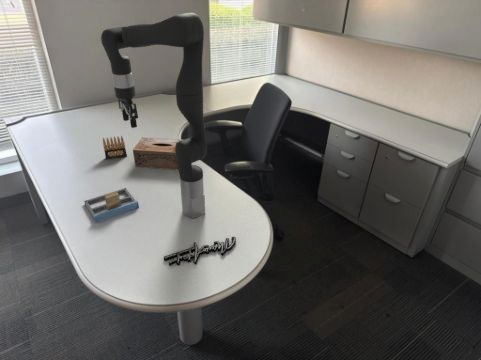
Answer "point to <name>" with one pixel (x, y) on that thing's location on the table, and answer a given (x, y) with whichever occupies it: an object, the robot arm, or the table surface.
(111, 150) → the ammunition clip
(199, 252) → the nameplate
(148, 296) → the table surface
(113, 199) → the plug block
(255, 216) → the table surface
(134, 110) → the robot arm
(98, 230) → the table surface
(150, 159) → the tissue box cover
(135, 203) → the organizer
